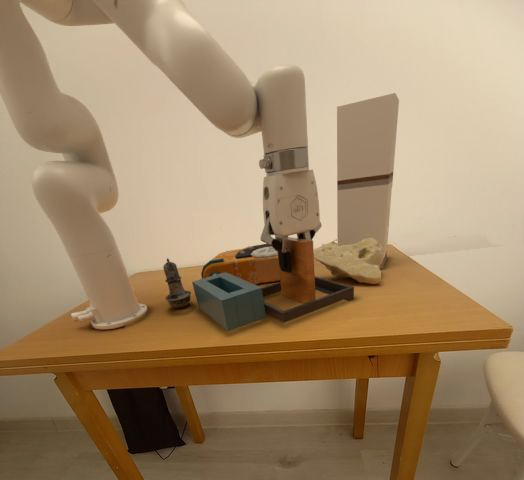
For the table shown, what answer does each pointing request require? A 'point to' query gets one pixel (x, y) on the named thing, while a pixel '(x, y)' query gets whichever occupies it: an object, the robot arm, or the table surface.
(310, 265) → the wooden plank block
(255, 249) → the device
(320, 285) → the dark rectangular frame
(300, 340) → the table surface
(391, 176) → the refrigerator
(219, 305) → the blue-grey slotted box
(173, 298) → the dark stone tower figurine
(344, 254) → the beige rock
